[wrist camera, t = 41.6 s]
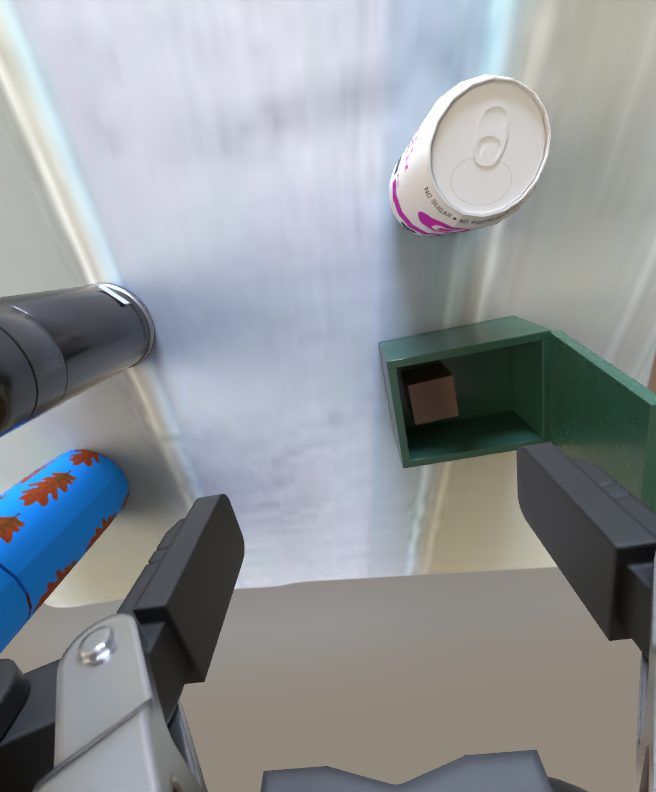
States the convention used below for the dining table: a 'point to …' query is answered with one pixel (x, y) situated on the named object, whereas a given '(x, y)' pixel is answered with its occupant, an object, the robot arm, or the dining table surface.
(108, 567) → the dining table surface
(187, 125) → the dining table surface
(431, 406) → the walnut block
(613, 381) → the tin lid
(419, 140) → the supplement can
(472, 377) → the tea tin
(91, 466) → the thermos
